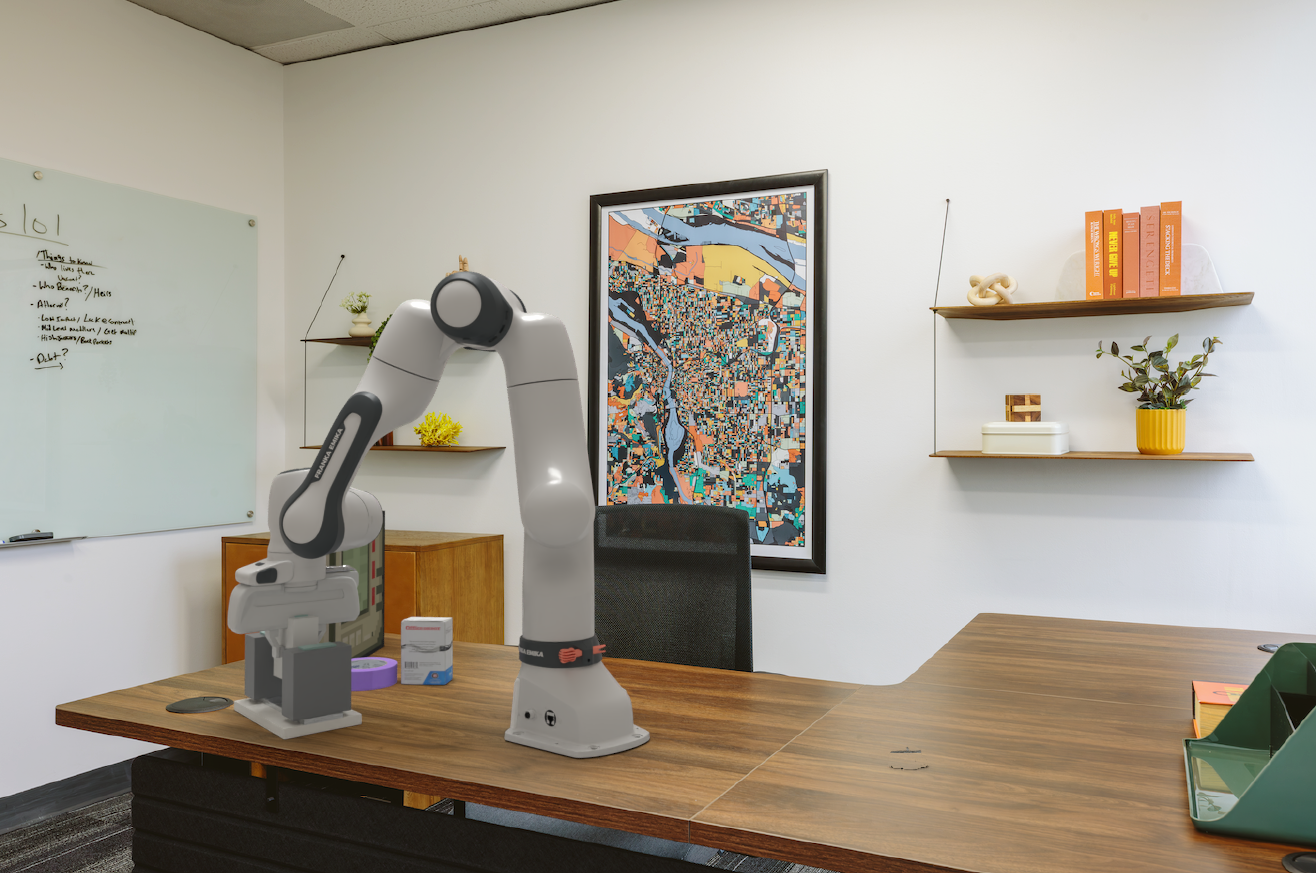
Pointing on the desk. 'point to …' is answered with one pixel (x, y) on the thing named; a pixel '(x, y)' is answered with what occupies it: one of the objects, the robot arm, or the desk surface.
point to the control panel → (363, 598)
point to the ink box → (427, 650)
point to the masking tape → (372, 673)
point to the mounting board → (287, 727)
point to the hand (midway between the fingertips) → (295, 655)
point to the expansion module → (297, 636)
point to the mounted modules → (300, 676)
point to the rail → (277, 705)
